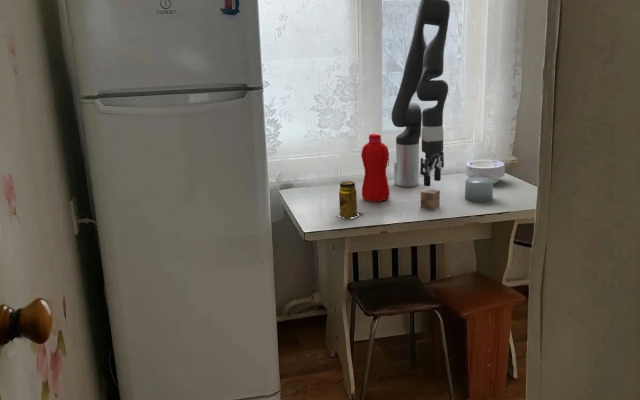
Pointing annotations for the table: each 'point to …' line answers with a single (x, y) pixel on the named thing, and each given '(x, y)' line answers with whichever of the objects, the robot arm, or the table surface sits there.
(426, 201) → the walnut block
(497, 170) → the paper bowls
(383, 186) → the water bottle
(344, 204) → the condiment
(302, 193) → the table surface
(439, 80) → the robot arm
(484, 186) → the slate canister
